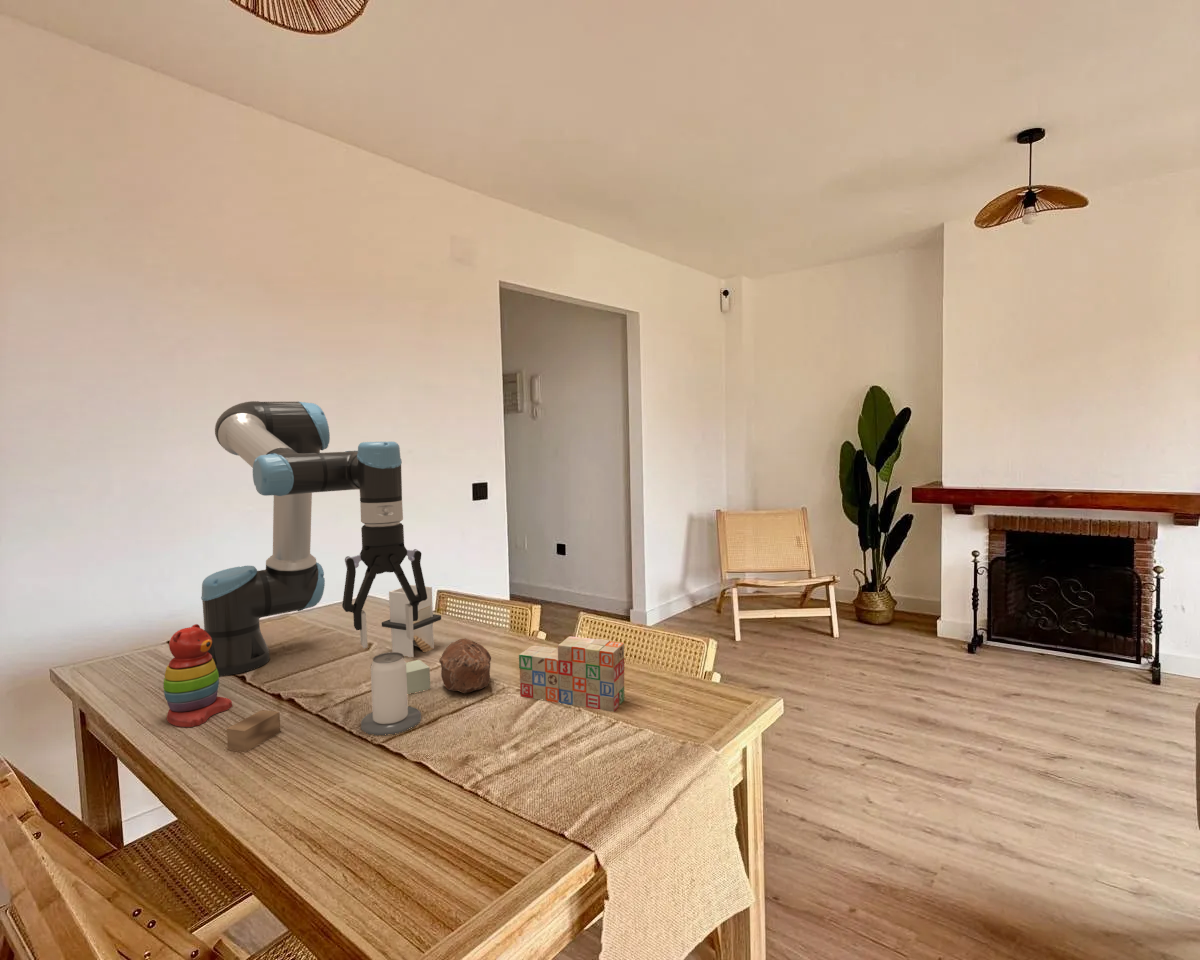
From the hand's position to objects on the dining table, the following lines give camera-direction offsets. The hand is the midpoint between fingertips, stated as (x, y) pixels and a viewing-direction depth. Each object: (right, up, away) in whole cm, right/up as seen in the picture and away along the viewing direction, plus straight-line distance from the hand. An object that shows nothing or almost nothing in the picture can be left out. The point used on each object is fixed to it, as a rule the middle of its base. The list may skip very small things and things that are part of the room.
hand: (387, 641), depth 122 cm
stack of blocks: (+35, -15, +11) cm, 39 cm away
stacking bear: (-41, -16, +6) cm, 44 cm away
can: (0, -15, +1) cm, 15 cm away
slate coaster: (0, -16, +1) cm, 16 cm away
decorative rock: (+12, -15, +18) cm, 26 cm away
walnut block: (-22, -17, -5) cm, 29 cm away
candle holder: (-7, -13, +41) cm, 44 cm away
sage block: (0, -15, +17) cm, 23 cm away
